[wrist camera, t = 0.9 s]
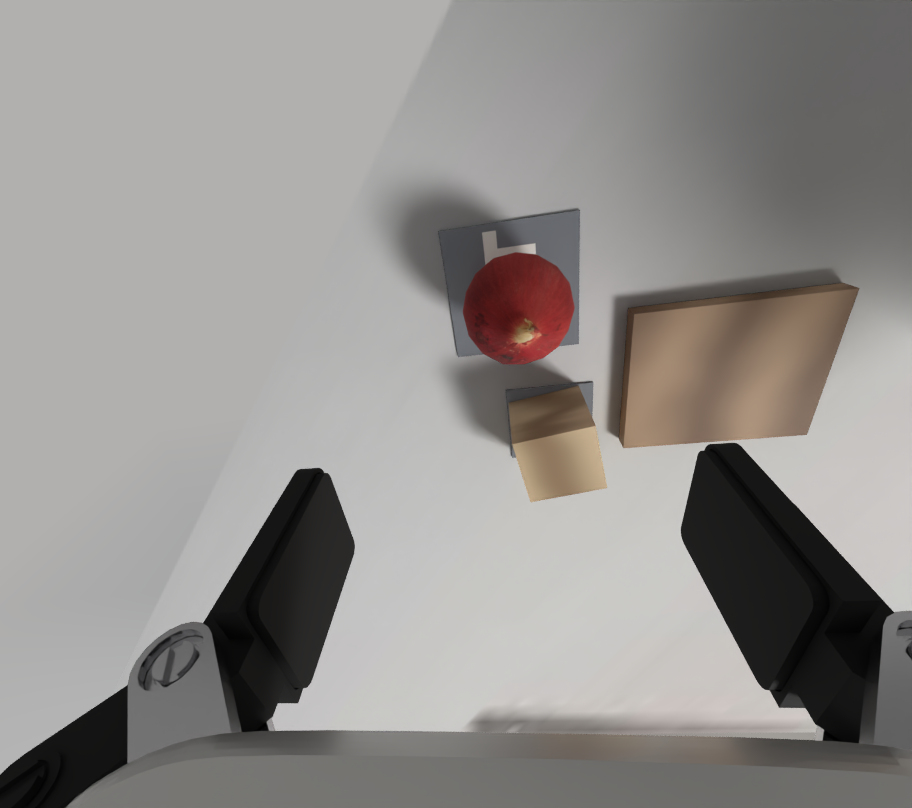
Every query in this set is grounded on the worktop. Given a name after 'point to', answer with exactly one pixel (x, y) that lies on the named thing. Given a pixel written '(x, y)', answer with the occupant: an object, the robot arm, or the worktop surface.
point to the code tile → (484, 242)
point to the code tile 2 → (536, 391)
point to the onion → (518, 308)
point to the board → (730, 365)
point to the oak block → (556, 444)
